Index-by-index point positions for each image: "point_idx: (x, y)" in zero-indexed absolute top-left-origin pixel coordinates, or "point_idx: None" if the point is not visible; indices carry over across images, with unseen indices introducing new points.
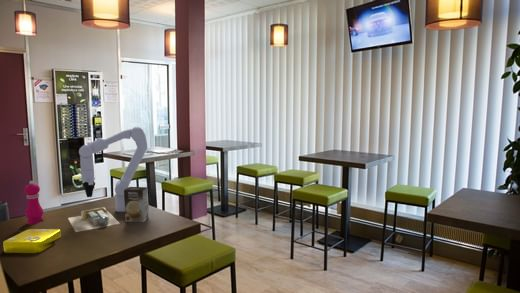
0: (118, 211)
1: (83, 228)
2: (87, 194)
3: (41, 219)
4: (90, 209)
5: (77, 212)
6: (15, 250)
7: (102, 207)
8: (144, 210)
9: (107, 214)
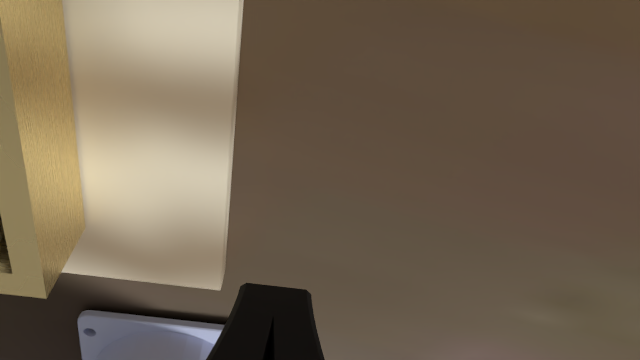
0: (118, 349)
1: None
2: (220, 342)
3: None
4: (8, 122)
5: (633, 15)
6: None
7: (38, 278)
8: None
9: None
